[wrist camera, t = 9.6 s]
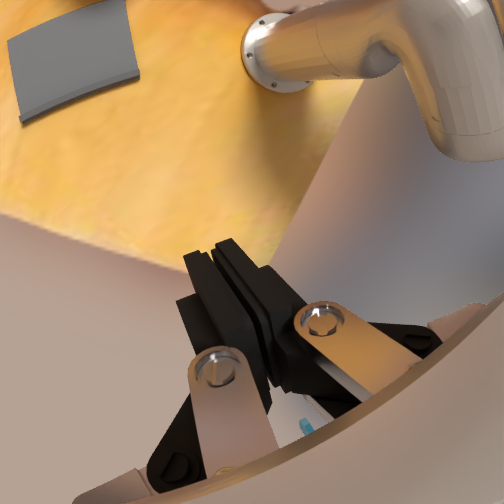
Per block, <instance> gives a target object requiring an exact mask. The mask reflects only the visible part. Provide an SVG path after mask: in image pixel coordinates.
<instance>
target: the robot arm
mask: <svg viewBox="0 0 504 504" xmlns="http://www.w3.org/2000/svg"><path fill="white" fill-rule="evenodd" d="M492 1H493V5H494V9H495V12H496V15H497V19H498V22H499V26H500V29H501V32H502V36H503V39H504V0H492ZM259 23H260V24H261V25H260V24H259ZM241 55H242V60H243V63H244V66H245V68H246V69H247V71H248V73H249V74H250V76H251V77H252V78H253V79H254V80H255V81H256V82H257V83H258V84H260V85H261V86H263V87H264V88H266V89H268V90H271V91H274V92H279V93H292V92H297V91H300V90H303V89H304V88H306V87H307V86H309V85H310V84H311V83H312V82H313V81H316V80H337V79H371V78H377V77H381V76H383V75H385V74H387V73H389V72H390V71H391V70H393V69H394V68H395V67H396V66H397V65H398V64H399V63H401V64H402V66H403V69H404V71H405V73H406V76H407V78H408V79H409V82H410V84H411V87H412V90H413V92H414V95H415V98H416V100H417V103H418V106H419V109H420V112H421V115H422V118H423V121H424V124H425V126H426V129H427V132H428V135H429V137H430V139H431V141H432V143H433V144H434V146H435V147H436V148H437V149H438V150H439V151H440V152H441V153H442V154H444V155H445V156H447V157H449V158H451V159H453V160H457V161H461V162H470V163H479V162H487V161H494V160H499V159H504V47H503V43H502V40H501V37H500V33H499V30H498V27H497V24H496V21H495V18H494V16H493V14H492V11H491V9H490V7H489V5H488V3H487V1H486V0H328V1H325V2H322V3H320V4H317V5H314V6H312V7H309V8H307V9H304V10H302V11H299V12H297V13H294V14H292V15H289V14H285V13H271V14H267V15H265V16H262V17H260V18H258V19H257V20H255V21H254V22H253V23H251V25H250V26H249V27H248V28H247V30H246V31H245V33H244V35H243V39H242V43H241ZM247 55H248V56H249V57H247ZM271 84H272V85H273V86H271ZM215 247H216V248H215V249H212V250H211V254H212V258H213V261H214V262H213V261H212V259H211V258H210V256H209V255H208V253H207V252H204V253H200V251H199V250H197V251H194V252H192V253H189V254H186V255H184V256H183V258H184V261H185V264H186V267H187V270H188V272H189V275H190V278H191V281H192V284H193V287H194V289H195V292H196V293H195V294H192V295H190V296H187V297H185V298H182V299H180V300H177V301H176V304H177V306H178V309H179V312H180V314H181V317H182V320H183V323H184V325H185V328H186V330H187V333H188V336H189V338H190V341H191V343H192V346H193V348H194V351H195V353H196V357H195V358H194V359H193V360H192V362H191V363H190V366H189V368H188V382H189V388H190V394H189V395H188V397H187V399H186V400H185V402H184V403H183V405H182V407H181V408H180V410H179V412H178V414H177V415H176V417H175V418H174V420H173V422H172V423H171V425H170V426H169V428H168V430H167V431H166V433H165V435H164V436H163V438H162V439H161V441H160V443H159V445H158V446H157V448H156V449H155V451H154V453H153V454H152V456H151V457H150V459H149V462H148V464H147V466H146V467H144V468H142V469H140V470H137V469H136V468H134V469H133V470H130V471H129V472H127V473H125V474H123V475H121V476H119V477H117V478H115V479H113V480H111V481H109V482H107V483H104V484H102V485H100V486H98V487H96V488H94V489H92V490H89V491H87V492H85V493H83V494H81V495H79V496H78V497H76V498H75V500H74V501H73V503H72V504H504V292H503V293H501V294H500V295H498V296H497V297H496V298H494V299H493V300H492V301H491V302H489V303H488V304H487V305H484V304H482V303H472V304H468V305H467V306H465V307H463V308H460V309H458V310H456V311H454V312H452V313H450V314H448V315H445V316H443V317H441V318H439V319H436V320H434V321H432V322H429V323H428V325H427V327H423V326H417V325H400V324H386V323H372V322H366V321H364V320H363V319H361V318H360V317H358V316H357V315H355V314H354V313H352V312H351V311H349V310H347V309H346V308H345V307H343V306H341V305H339V304H337V303H334V302H329V301H319V302H315V303H311V304H309V305H308V304H307V303H306V302H305V301H304V300H303V299H302V298H301V297H300V296H299V295H298V294H297V293H296V292H295V291H294V290H293V289H292V288H291V287H290V286H289V285H288V284H287V283H286V282H285V281H284V280H283V279H282V278H281V277H280V276H279V275H278V274H277V273H276V271H274V269H273V268H271V267H270V266H269V265H266V266H263V267H261V268H258V267H257V266H256V265H255V264H254V262H253V261H252V260H251V259H250V258H249V257H248V256H247V255H246V254H245V252H244V251H243V250H242V249H241V248H240V247H239V246H238V245H237V244H236V242H235V241H234V240H233V239H232V238H229V239H227V240H224V241H221V242H219V243H216V244H215ZM267 377H268V379H269V380H270V382H271V383H272V385H273V386H274V387H275V388H276V387H278V386H281V388H282V389H283V391H284V392H285V394H286V393H288V392H290V391H292V392H293V393H297V394H303V397H304V398H305V400H306V401H307V402H308V403H309V404H310V405H311V406H312V407H313V408H314V409H315V410H316V411H317V412H318V413H319V414H320V415H321V416H322V417H324V419H325V420H326V421H328V422H329V423H328V424H326V425H325V426H323V427H321V428H319V429H317V430H316V431H314V432H312V433H310V434H308V435H306V436H304V437H302V438H300V439H298V440H297V441H295V442H293V443H291V444H289V445H287V446H285V447H283V448H281V449H279V447H278V444H277V442H276V439H275V436H274V433H273V431H272V428H271V425H270V423H269V420H268V417H267V414H268V412H269V409H270V407H271V404H272V399H271V395H270V392H269V391H270V387H269V383H268V379H267Z"/></svg>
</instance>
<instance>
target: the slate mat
mask: <svg viewBox="0 0 504 504" xmlns="http://www.w3.org/2000/svg"><path fill="white" fill-rule="evenodd" d="M7 43H8V50H9V57H10V64H11V70H12V76H13V81H14V86H15V91H16V96H17V100H18V105H19V109H20V113H21V115H20V116H19V120H20V122H23V124H25V123H27V122H29V121H31V120H33V119H35V118H37V117H39V116H41V115H43V114H45V113H48V112H50V111H52V110H54V109H57V108H59V107H61V106H63V105H66V104H68V103H71V102H73V101H76V100H78V99H81V98H83V97H86V96H88V95H91V94H94V93H96V92H99V91H102V90H105V89H108V88H111V87H113V86H116V85H120V84H123V83H126V82H129V81H132V80H136V79H139V78H140V71H139V69H138V65H137V61H136V56H135V51H134V47H133V42H132V37H131V32H130V27H129V21H128V16H127V11H126V5H125V0H105V1H102V2H99V3H96V4H92V5H89V6H86V7H83V8H80V9H78V10H75V11H72V12H69V13H67V14H64V15H62V16H59V17H57V18H54V19H52V20H49V21H47V22H45V23H42V24H40V25H38V26H36V27H34V28H31V29H29V30H27V31H25V32H23V33H21V34H19V35H17V36H15V37H13V38H11V39H9V40H8V41H7Z"/></svg>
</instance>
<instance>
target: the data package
mask: <svg viewBox="0 0 504 504" xmlns="http://www.w3.org/2000/svg"><path fill="white" fill-rule="evenodd" d="M299 425H300V429H301V430H302V432H303V433H304V434H305V436H306V435H308V434H310V433H312V432H314V429H313V427H312V426H311V424H310V423H309V422H308V420H307V419H306V418H303V419H301V420H299Z"/></svg>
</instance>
